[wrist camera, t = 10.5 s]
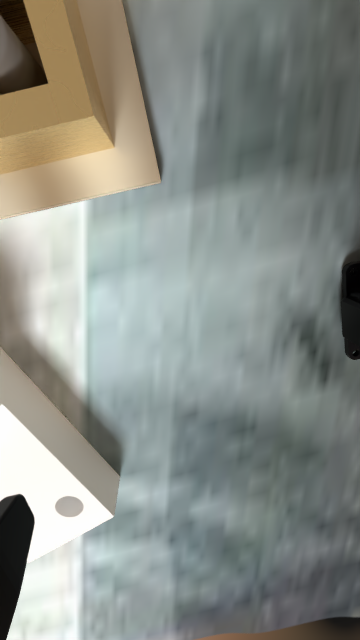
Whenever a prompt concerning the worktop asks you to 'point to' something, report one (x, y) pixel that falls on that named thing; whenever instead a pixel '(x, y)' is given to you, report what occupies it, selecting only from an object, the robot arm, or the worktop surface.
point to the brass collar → (52, 90)
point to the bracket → (49, 465)
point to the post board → (121, 110)
